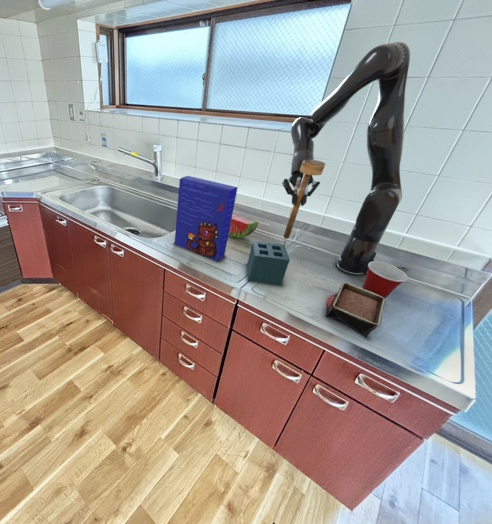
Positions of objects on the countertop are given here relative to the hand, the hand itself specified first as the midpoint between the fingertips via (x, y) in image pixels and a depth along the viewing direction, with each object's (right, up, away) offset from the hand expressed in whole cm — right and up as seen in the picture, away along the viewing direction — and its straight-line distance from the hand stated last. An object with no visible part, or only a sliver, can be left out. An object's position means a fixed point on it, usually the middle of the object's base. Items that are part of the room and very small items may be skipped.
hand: (298, 204), depth 110 cm
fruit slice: (-19, -8, +30) cm, 36 cm away
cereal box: (-36, -17, +15) cm, 42 cm away
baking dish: (+5, -40, -20) cm, 45 cm away
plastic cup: (+19, -35, -12) cm, 41 cm away
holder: (-14, -27, -1) cm, 31 cm away
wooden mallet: (0, -14, +9) cm, 16 cm away
